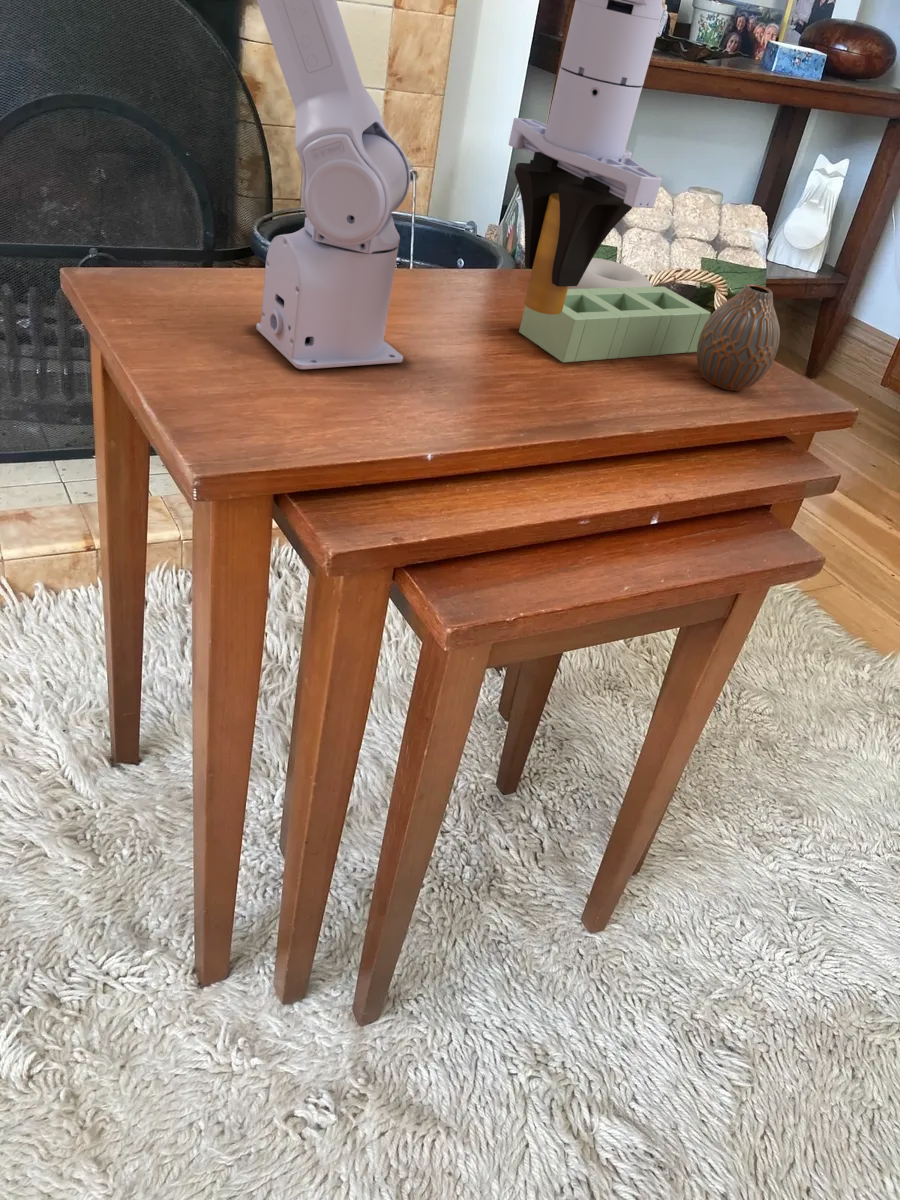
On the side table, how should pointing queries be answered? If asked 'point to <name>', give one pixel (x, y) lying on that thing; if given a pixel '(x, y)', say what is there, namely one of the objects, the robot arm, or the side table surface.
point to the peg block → (617, 324)
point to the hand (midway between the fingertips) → (551, 276)
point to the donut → (610, 276)
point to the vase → (739, 340)
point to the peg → (546, 265)
